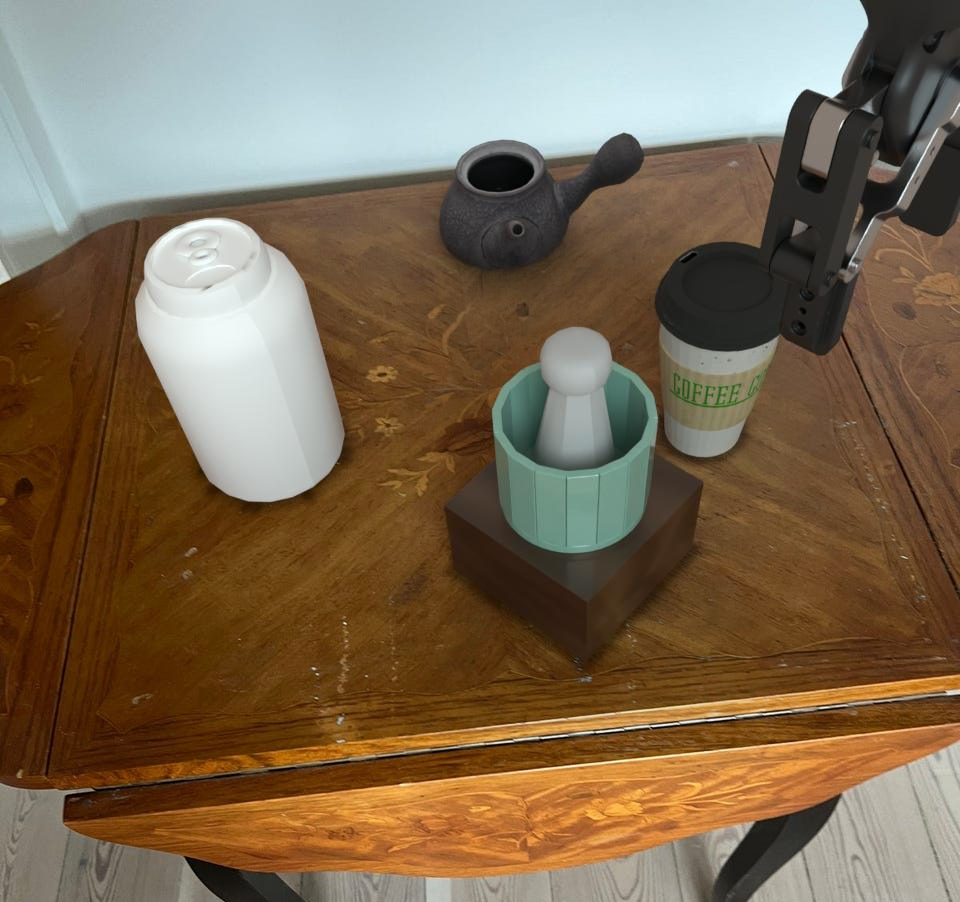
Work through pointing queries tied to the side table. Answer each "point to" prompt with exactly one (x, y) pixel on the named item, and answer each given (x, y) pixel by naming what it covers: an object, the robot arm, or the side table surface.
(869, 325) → the side table surface
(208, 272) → the can
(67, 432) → the side table surface
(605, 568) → the block
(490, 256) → the teapot
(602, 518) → the green cup
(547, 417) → the salt shaker
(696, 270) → the coffee cup
